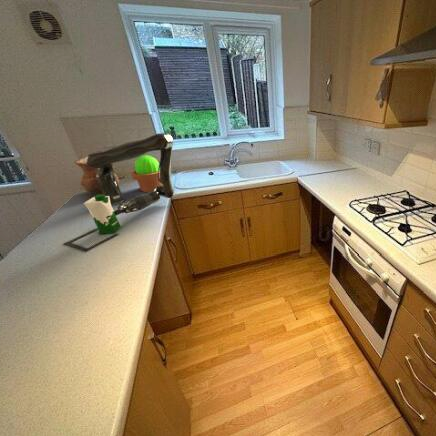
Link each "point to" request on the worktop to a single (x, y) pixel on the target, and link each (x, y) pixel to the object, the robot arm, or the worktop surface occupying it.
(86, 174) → the jug
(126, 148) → the robot arm
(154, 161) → the potted cactus
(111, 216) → the soya milk
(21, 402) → the worktop surface
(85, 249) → the dark flat u-shaped piece
